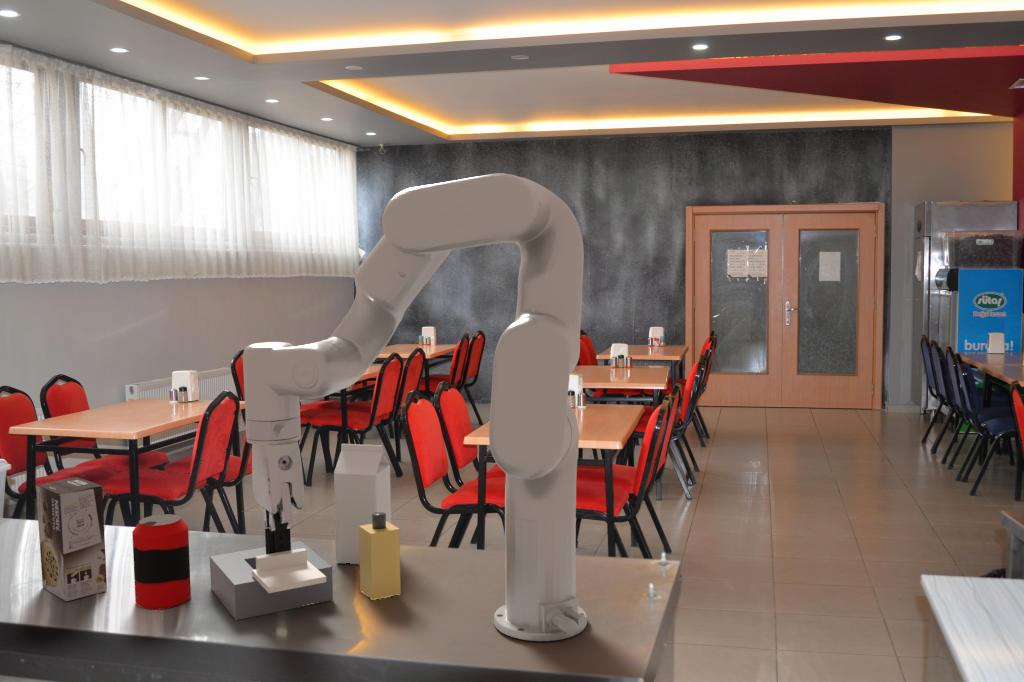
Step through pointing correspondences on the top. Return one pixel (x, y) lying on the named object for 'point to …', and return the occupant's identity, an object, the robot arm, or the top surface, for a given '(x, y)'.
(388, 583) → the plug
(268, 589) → the plate
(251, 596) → the socket housing
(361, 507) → the milk carton
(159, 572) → the soda can
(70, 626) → the top surface
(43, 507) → the coffee box
